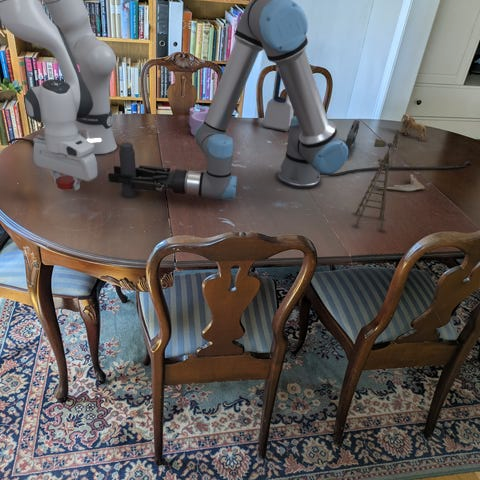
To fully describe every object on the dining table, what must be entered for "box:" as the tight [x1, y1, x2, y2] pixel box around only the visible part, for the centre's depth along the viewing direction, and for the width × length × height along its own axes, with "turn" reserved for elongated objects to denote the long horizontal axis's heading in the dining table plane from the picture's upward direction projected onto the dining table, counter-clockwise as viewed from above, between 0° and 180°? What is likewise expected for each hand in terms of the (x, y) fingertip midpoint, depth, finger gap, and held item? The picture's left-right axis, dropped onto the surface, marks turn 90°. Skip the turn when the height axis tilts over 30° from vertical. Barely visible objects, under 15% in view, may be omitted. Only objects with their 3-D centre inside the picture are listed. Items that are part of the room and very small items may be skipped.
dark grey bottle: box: [118, 142, 138, 198], centre depth 143 cm, size 4×4×16 cm
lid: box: [56, 175, 75, 191], centre depth 137 cm, size 5×5×2 cm
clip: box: [188, 106, 209, 137], centre depth 199 cm, size 20×12×7 cm, turn 23°
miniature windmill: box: [354, 129, 400, 232], centre depth 137 cm, size 9×8×30 cm
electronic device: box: [262, 66, 294, 132], centre depth 204 cm, size 12×8×30 cm, turn 71°
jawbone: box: [377, 173, 426, 193], centre depth 169 cm, size 9×20×2 cm, turn 126°
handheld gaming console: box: [345, 119, 361, 160], centre depth 194 cm, size 23×3×10 cm, turn 161°
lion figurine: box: [400, 113, 429, 141], centre depth 217 cm, size 15×5×9 cm, turn 50°
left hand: (67, 186), depth 138 cm, fingers closed on lid, 5 cm apart
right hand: (111, 173), depth 144 cm, fingers closed on dark grey bottle, 5 cm apart
